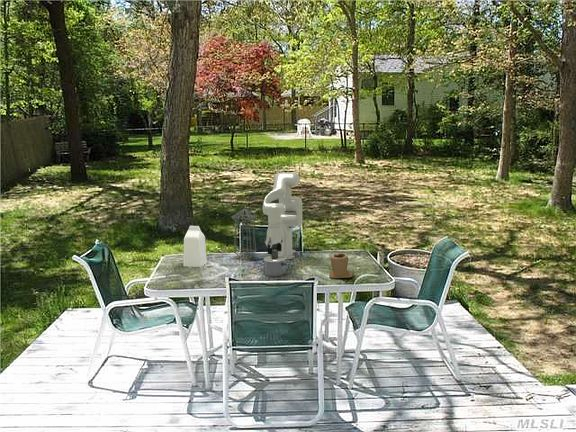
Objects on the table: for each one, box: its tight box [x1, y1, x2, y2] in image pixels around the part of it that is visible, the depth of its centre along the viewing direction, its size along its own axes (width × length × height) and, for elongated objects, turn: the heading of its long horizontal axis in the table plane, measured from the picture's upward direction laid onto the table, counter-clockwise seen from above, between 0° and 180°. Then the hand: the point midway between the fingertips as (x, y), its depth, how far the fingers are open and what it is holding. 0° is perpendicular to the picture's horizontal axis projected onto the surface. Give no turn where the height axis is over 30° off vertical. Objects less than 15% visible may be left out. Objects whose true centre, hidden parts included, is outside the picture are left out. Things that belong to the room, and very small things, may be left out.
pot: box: [262, 259, 288, 277], centre depth 342 cm, size 12×17×9 cm
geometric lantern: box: [231, 208, 259, 261], centre depth 383 cm, size 16×16×35 cm
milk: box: [182, 225, 208, 268], centre depth 366 cm, size 12×12×26 cm
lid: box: [263, 249, 287, 262], centre depth 342 cm, size 14×14×7 cm
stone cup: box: [328, 252, 354, 279], centre depth 332 cm, size 15×12×15 cm
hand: (274, 252), depth 341 cm, fingers open, 9 cm apart
